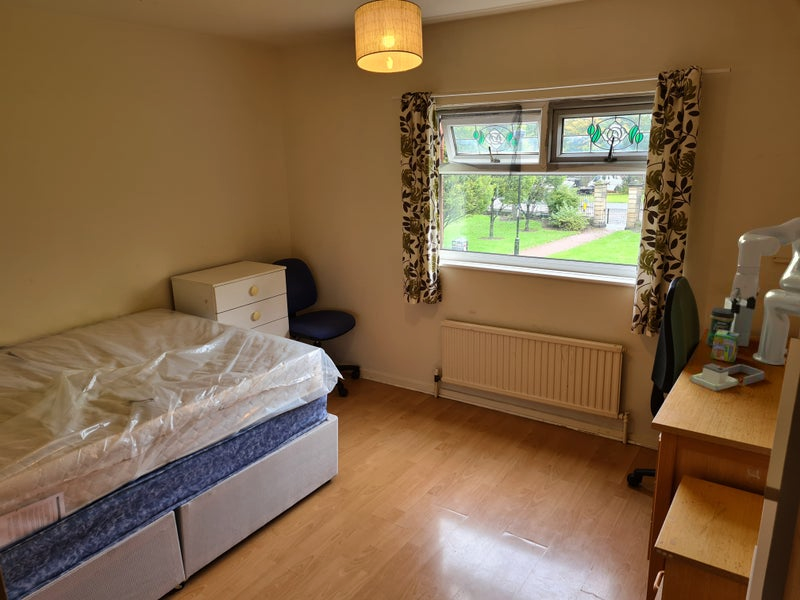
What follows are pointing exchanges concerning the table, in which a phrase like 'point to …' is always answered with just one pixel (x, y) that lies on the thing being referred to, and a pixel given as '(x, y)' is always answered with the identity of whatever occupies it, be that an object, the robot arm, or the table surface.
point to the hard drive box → (741, 321)
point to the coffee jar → (719, 322)
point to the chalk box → (725, 345)
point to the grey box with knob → (714, 374)
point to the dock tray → (698, 380)
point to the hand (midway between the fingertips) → (742, 310)
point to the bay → (754, 373)
